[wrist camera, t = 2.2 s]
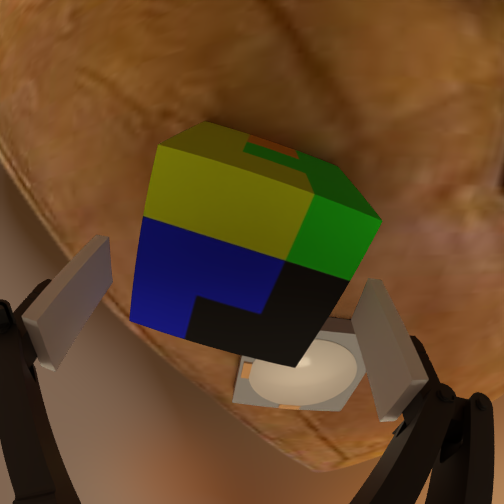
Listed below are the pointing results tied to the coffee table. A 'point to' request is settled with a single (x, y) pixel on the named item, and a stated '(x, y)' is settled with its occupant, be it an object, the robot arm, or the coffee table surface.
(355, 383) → the plinth
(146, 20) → the coffee table surface
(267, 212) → the puzzle toy
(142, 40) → the coffee table surface
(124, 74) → the coffee table surface
